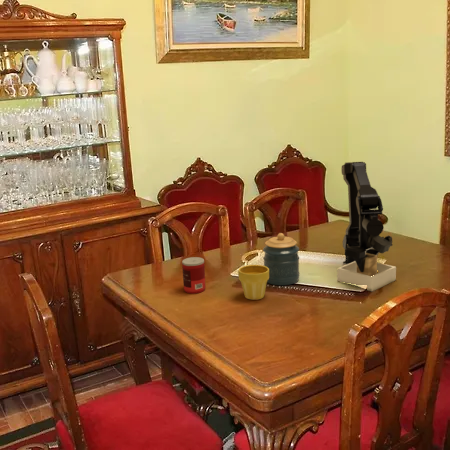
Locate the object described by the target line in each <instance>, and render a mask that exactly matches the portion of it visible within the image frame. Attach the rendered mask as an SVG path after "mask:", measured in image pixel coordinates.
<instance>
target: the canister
mask: <svg viewBox="0 0 450 450" xmlns="http://www.w3.org/2000/svg"><path fill="white" fill-rule="evenodd" d="M264 243H265V246H264V247H263V248H262V251H263V252H264V256H263V266H266V267H268V268H269V279H268V280H267V284H269V285H275V286H289V285H293V284H296V283H297V282H298V281H299V280H300V263H299V262H300V261H299V260H300V256H299V253H298V252H299V251H300V247H299V246H297V244H298V241H296V240H295V239H293V237H291V236H290V237H289V236H285V233H282V232H279V233H278V234H277V236H272V237H271V238H269V239H268V240H266V241H265V242H264ZM295 282H296V283H295Z"/></svg>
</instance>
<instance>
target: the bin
mask: <svg viewBox="0 0 450 450" xmlns="http://www.w3.org/2000/svg"><path fill="white" fill-rule="evenodd" d="M336 269H337V270H336V272H337V275H336V277H337V279H336V281H340V282H339V283H341V282H345V283H351V284H356V285H367V286H368V287H367V290H366V291H369V292H375V291H376V290H379V289H380V288H382V287H384V286H386V285H388V284H390V283H393V282H394V281H396V280H397V278H396V276H397V266H395V265H391V264H386V263H382V262H378V261H377V270H378V271H379V272H378V273H377V274H376V275H374V276H372V277H371V276H368V275H364V274H360V273H357V264H356V262H355V261H354V262H352V263H349V264H345V265H342V266H339V267H337V268H336Z"/></svg>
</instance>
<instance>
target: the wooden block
mask: <svg viewBox="0 0 450 450" xmlns="http://www.w3.org/2000/svg"><path fill="white" fill-rule="evenodd" d="M366 255H368V257H367V258H366V259H365V267H364V272H360V270H359V268H358V266H357V273H360V274H364V275H368V276H373V275H376V274H377V262H378V255H373V254H369V253H366Z"/></svg>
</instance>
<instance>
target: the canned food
mask: <svg viewBox="0 0 450 450" xmlns="http://www.w3.org/2000/svg"><path fill="white" fill-rule="evenodd" d="M181 265H182V266H181V267H182V270H181V271H182V279H183V280H182V282H183V283H182V284H183V291H184V292H185V293H187V294H193V295H194V294H195V295H196V294H200V293H203V292H204V291H205V290H206V269H205V259H204V258H203V257H197V256H195V257H194V256H192V257H187V258H184V259H182V262H181Z"/></svg>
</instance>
